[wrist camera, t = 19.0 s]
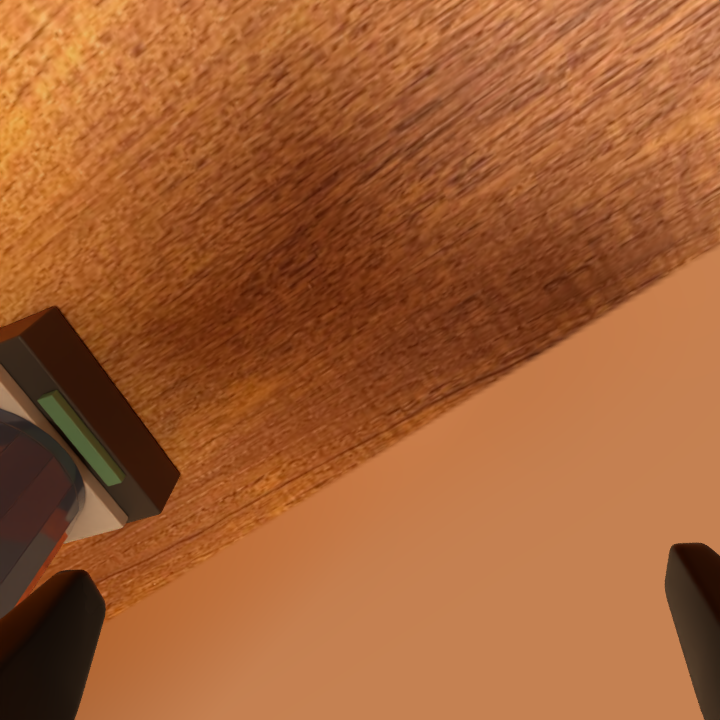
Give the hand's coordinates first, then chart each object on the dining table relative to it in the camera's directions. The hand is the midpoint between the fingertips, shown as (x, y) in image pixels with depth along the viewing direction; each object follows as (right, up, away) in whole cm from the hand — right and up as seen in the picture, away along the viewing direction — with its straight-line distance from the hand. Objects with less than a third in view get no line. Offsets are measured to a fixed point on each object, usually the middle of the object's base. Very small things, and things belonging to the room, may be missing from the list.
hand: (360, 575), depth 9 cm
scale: (-14, 0, +16) cm, 21 cm away
